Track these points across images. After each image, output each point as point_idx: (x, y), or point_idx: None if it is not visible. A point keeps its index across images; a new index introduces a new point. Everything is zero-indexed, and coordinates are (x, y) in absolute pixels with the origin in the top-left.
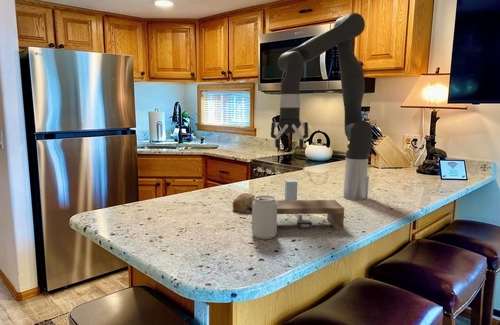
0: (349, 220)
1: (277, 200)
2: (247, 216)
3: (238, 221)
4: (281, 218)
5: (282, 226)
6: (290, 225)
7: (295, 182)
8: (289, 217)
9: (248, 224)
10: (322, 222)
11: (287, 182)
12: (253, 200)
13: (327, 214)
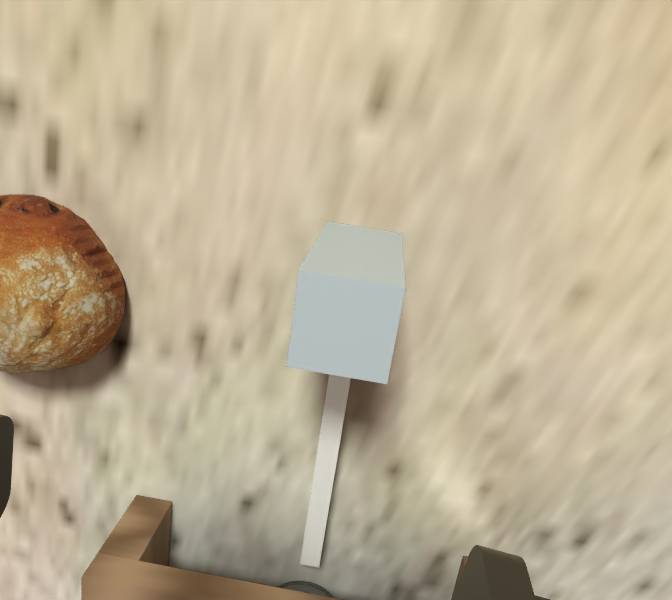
0: (577, 589)
1: (153, 594)
2: (50, 419)
3: None
4: (226, 486)
5: None
6: None
7: (368, 378)
8: (274, 481)
9: (50, 529)
10: (417, 582)
11: (291, 364)
12: (49, 367)
13: None
